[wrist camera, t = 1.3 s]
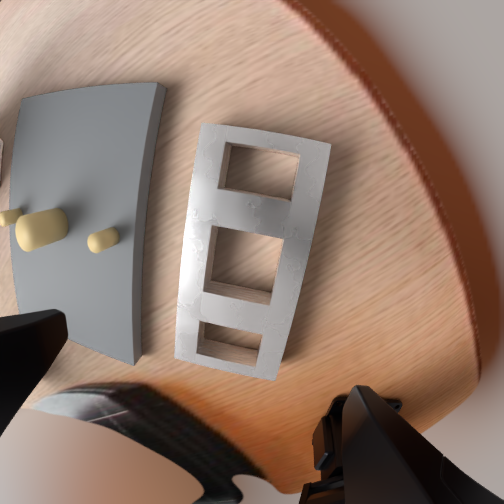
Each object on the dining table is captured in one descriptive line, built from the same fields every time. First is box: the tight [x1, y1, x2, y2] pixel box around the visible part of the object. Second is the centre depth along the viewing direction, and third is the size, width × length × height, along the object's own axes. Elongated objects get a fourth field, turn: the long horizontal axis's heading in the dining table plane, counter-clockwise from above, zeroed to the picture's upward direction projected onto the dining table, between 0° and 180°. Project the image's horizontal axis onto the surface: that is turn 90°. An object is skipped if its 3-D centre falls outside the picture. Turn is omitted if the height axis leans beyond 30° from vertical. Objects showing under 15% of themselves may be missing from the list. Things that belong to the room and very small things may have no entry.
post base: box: [0, 82, 167, 366], centre depth 16 cm, size 14×20×5 cm
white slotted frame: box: [174, 123, 331, 381], centre depth 17 cm, size 15×7×2 cm, turn 170°
